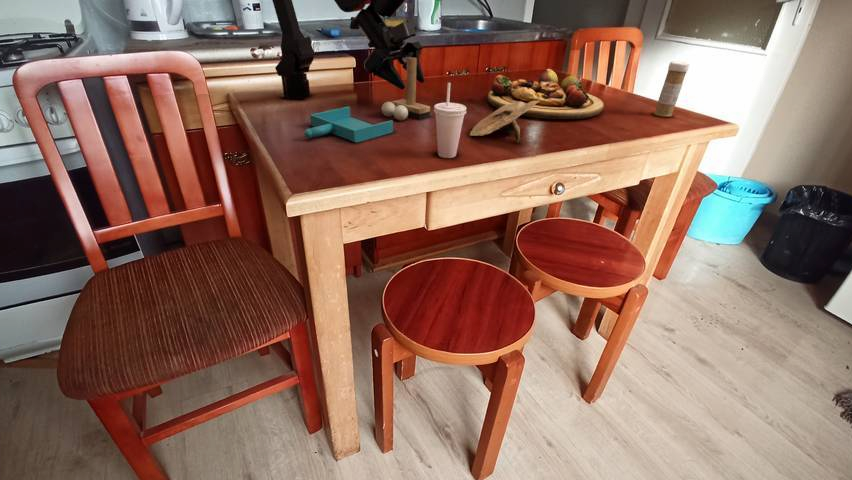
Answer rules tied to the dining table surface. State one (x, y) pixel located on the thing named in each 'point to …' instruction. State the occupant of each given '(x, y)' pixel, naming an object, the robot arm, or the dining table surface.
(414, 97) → the brush
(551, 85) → the wooden plate
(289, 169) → the dining table surface
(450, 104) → the smoothie
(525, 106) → the tan wooden pointed piece
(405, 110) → the cream oval piece
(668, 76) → the sprinkles bottle
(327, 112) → the dustpan
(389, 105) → the beige rounded piece
